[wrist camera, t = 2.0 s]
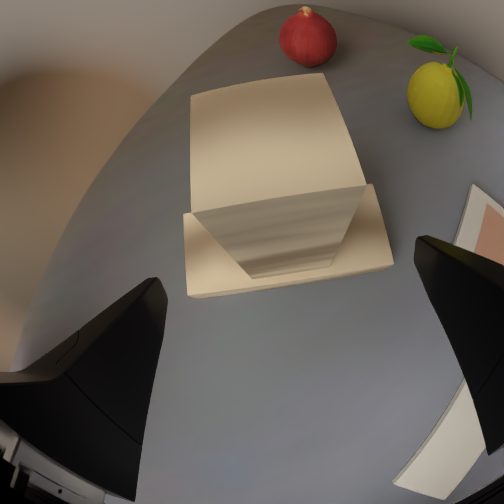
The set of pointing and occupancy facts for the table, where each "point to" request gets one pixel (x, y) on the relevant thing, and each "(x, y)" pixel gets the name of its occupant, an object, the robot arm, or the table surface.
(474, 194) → the tee mat
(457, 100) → the lemon
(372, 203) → the birch tee block
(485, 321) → the robot arm
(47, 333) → the table surface
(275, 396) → the table surface
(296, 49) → the onion
